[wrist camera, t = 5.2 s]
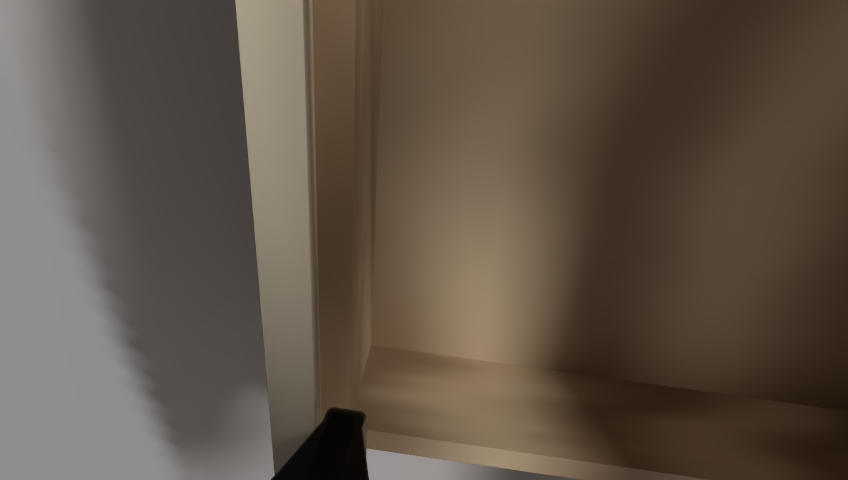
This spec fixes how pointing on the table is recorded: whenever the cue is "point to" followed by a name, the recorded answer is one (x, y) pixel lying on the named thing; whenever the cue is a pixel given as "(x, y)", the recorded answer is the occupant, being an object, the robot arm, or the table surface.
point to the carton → (587, 233)
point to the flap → (284, 208)
